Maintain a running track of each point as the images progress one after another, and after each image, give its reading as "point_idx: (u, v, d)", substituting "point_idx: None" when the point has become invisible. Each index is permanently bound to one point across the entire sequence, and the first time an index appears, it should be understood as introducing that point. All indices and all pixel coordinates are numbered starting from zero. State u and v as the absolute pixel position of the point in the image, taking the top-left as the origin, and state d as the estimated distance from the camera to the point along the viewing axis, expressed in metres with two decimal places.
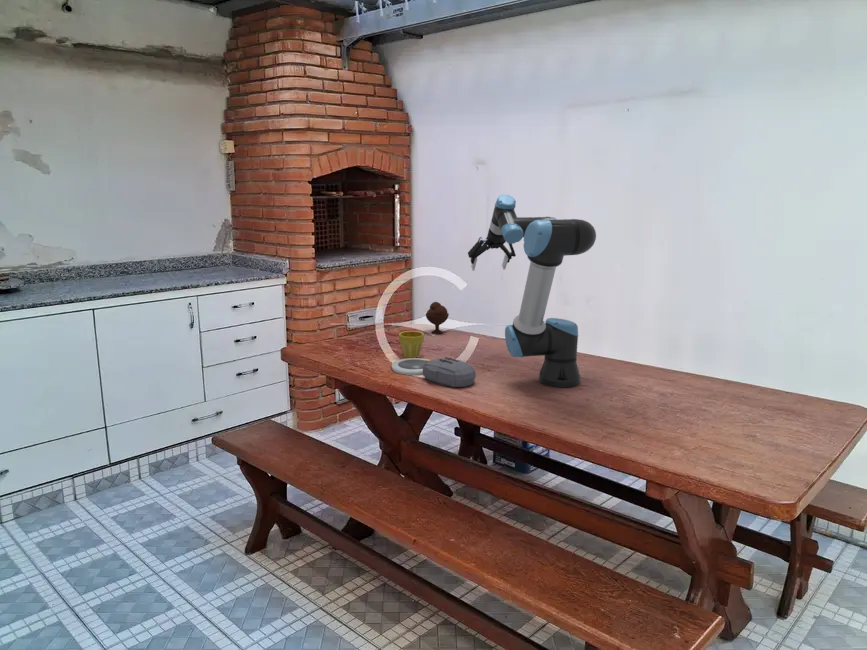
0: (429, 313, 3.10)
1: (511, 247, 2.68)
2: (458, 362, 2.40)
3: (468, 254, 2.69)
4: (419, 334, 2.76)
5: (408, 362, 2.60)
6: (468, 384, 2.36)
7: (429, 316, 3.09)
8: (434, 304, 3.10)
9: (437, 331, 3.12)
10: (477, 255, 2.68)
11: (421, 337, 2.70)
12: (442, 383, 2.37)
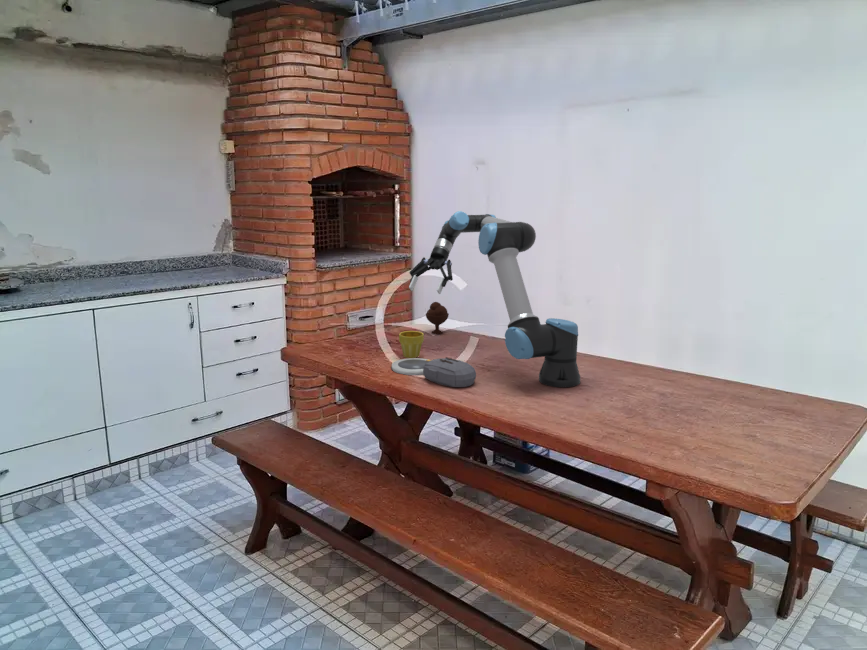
0: (429, 313, 3.10)
1: (448, 266, 2.79)
2: (458, 362, 2.40)
3: None
4: (419, 334, 2.76)
5: (408, 362, 2.60)
6: (468, 384, 2.36)
7: (429, 316, 3.09)
8: (434, 304, 3.10)
9: (437, 331, 3.12)
10: (417, 271, 2.84)
11: (421, 337, 2.70)
12: (442, 383, 2.37)
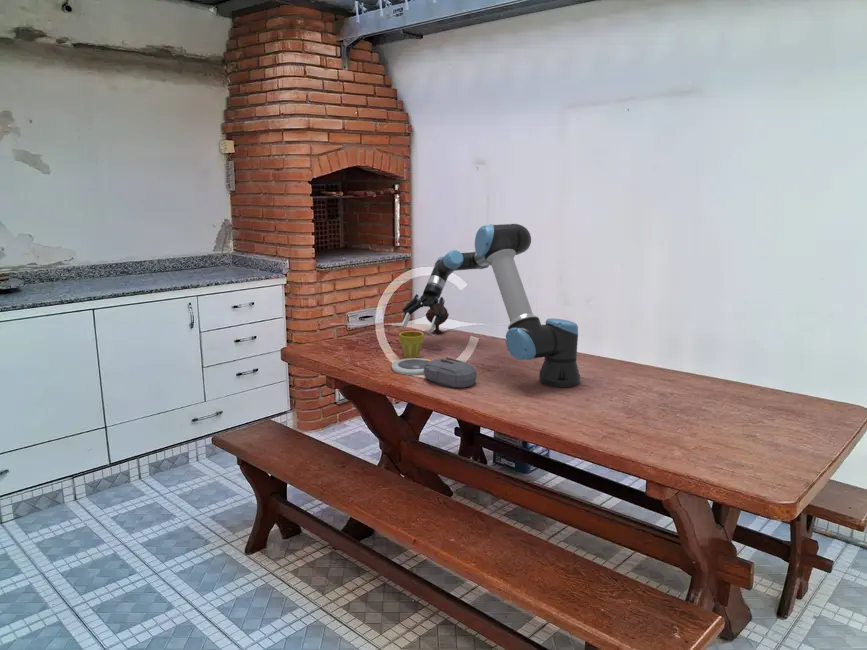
0: (429, 313, 3.10)
1: (440, 304, 2.79)
2: (459, 362, 2.40)
3: None
4: (419, 334, 2.76)
5: (408, 362, 2.60)
6: (469, 384, 2.36)
7: (429, 316, 3.09)
8: None
9: (437, 331, 3.12)
10: (409, 309, 2.84)
11: (421, 337, 2.70)
12: (443, 383, 2.37)
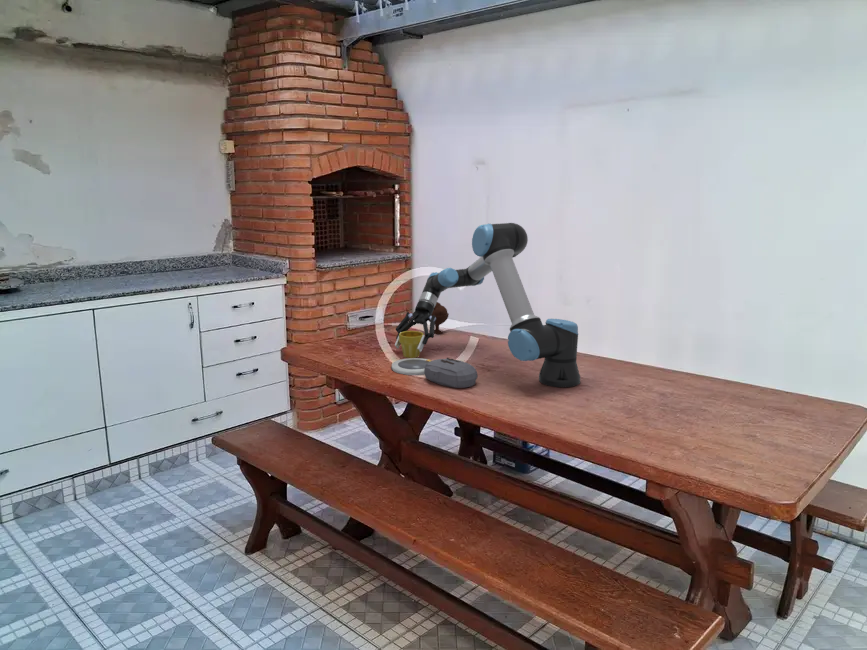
0: None
1: (431, 323, 2.73)
2: (460, 363, 2.39)
3: None
4: (419, 334, 2.76)
5: (408, 362, 2.60)
6: (470, 385, 2.35)
7: None
8: None
9: (437, 331, 3.12)
10: (402, 328, 2.77)
11: (421, 337, 2.70)
12: (444, 384, 2.36)
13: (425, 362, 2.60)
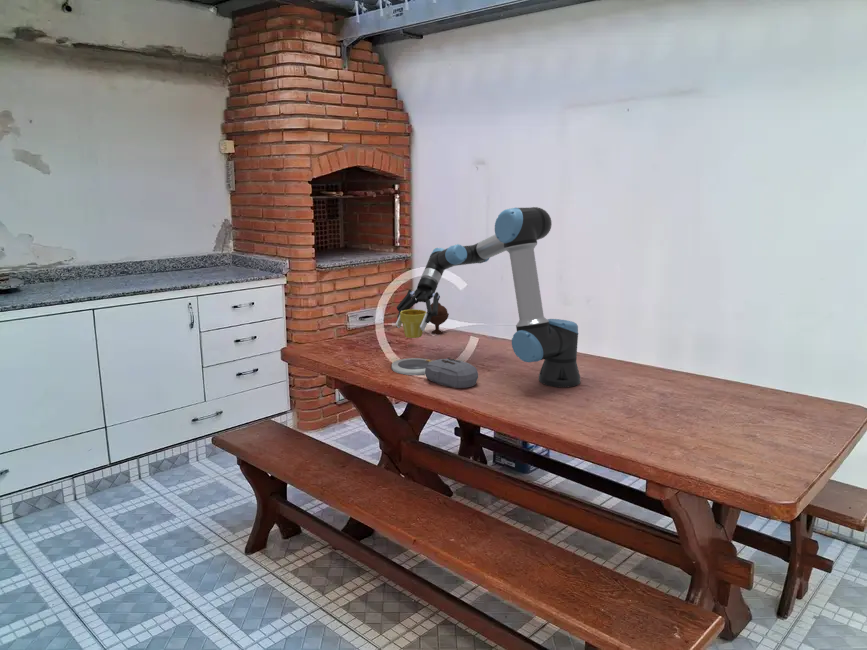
0: None
1: (434, 300, 2.56)
2: (460, 363, 2.39)
3: None
4: (422, 313, 2.59)
5: (408, 362, 2.60)
6: (471, 385, 2.35)
7: None
8: None
9: (437, 331, 3.12)
10: (404, 306, 2.60)
11: (424, 315, 2.53)
12: (444, 384, 2.36)
13: (425, 362, 2.60)
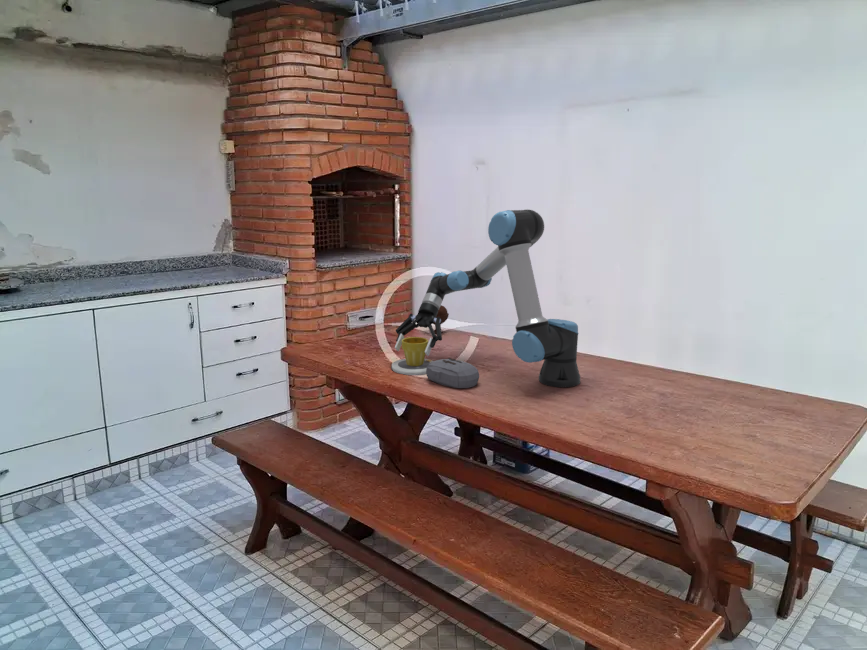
0: None
1: (437, 325, 2.56)
2: (461, 363, 2.39)
3: None
4: (423, 340, 2.59)
5: None
6: (471, 385, 2.35)
7: None
8: None
9: None
10: (403, 329, 2.61)
11: (425, 344, 2.53)
12: (445, 384, 2.36)
13: (425, 362, 2.60)
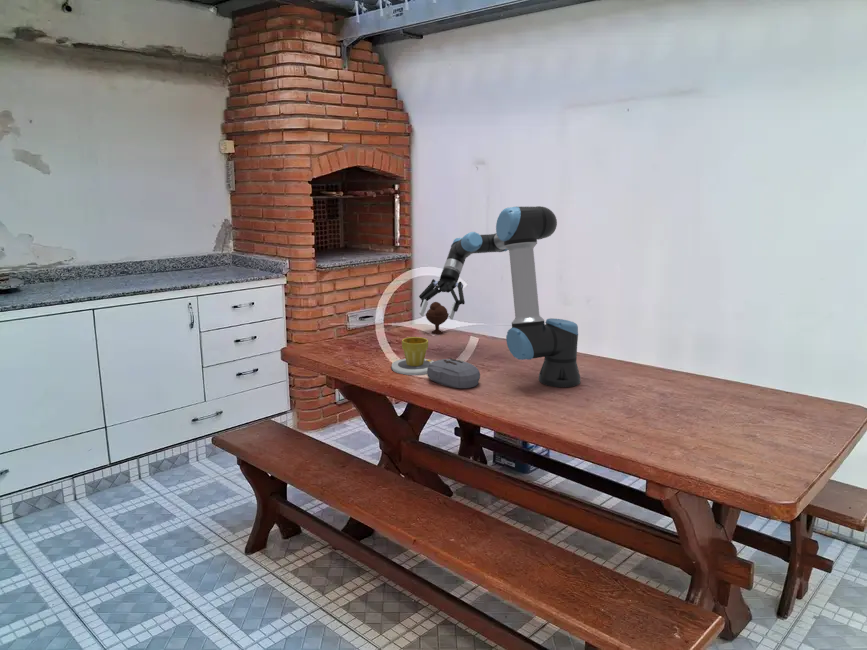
0: (429, 313, 3.10)
1: (459, 289, 2.65)
2: (462, 363, 2.39)
3: (420, 297, 2.73)
4: (423, 340, 2.59)
5: None
6: (472, 385, 2.35)
7: (429, 316, 3.09)
8: (434, 304, 3.10)
9: (437, 331, 3.12)
10: (426, 295, 2.70)
11: (425, 344, 2.53)
12: (446, 384, 2.36)
13: (425, 362, 2.60)
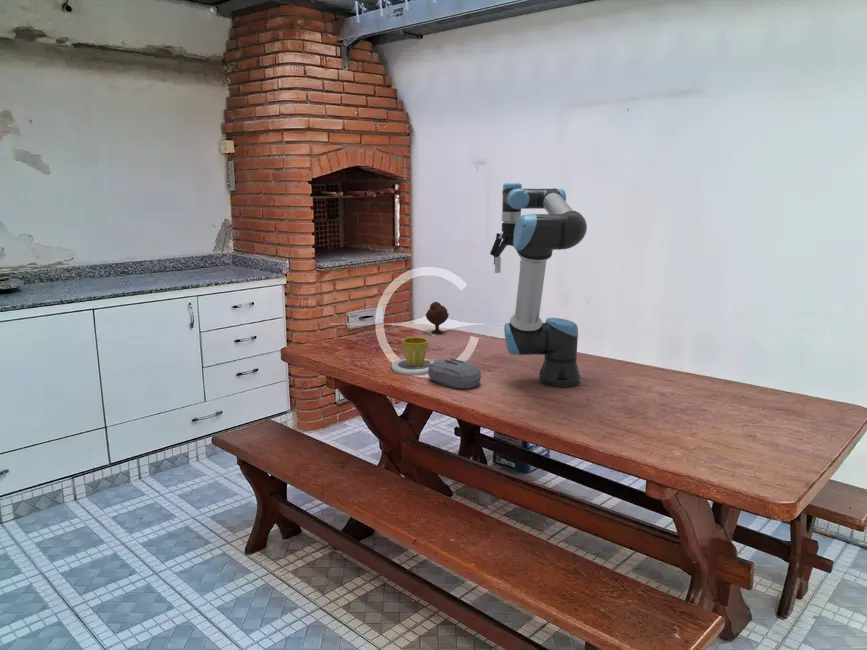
0: (429, 313, 3.10)
1: None
2: (463, 363, 2.38)
3: None
4: (423, 340, 2.59)
5: None
6: (473, 386, 2.34)
7: (429, 316, 3.09)
8: (434, 304, 3.10)
9: (437, 331, 3.12)
10: (496, 252, 2.69)
11: (425, 344, 2.53)
12: (447, 384, 2.36)
13: (425, 362, 2.60)
